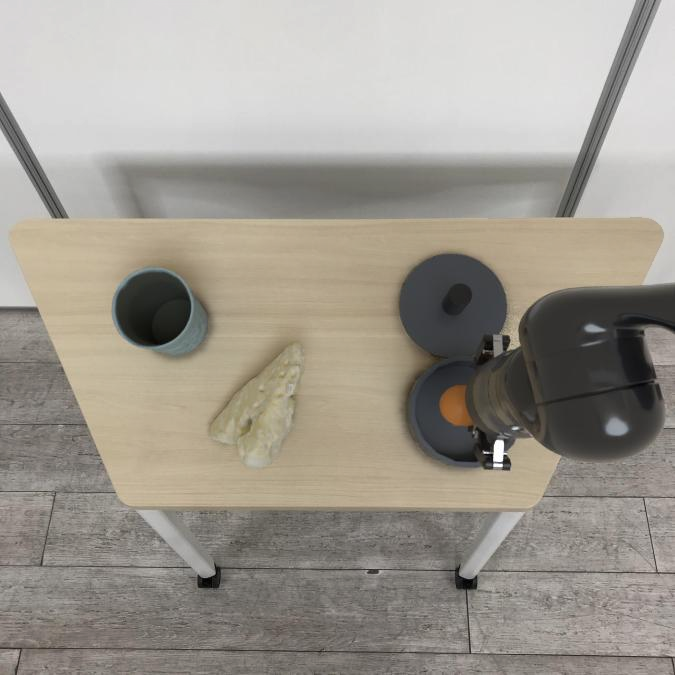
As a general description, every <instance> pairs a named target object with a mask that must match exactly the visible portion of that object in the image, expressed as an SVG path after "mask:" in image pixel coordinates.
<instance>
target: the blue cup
mask: <svg viewBox="0 0 675 675" xmlns="http://www.w3.org/2000/svg"><path fill="white" fill-rule="evenodd" d="M110 312H111V318H112V319H111V320H112V321H113V324H114V327H115V329H116V331H117V333H118V334H119V335H120V336H121V337H122V339H124V340H125V341H126V342H127V343H128V344H131V345H132V346H134V347H137V348H139V349H144V350H150V351H155V352H158V353H164V354H167V355H172V356H180V355H185V354H188V353H190V352H191V351H194V350H196V348H198V347H199V346H200V345H201V343H202V342H203V341H204V339H205V338H206V335H207V333H208V329H209V328H208V327H209V320H208V316H207V313H206V310H205V308H204V307H203V306H202V304H201V303H200V301H199V300H198V298H197V297H196V296H195V295H194V293H193V291H192V289H191V288H190V286H189V284H188V283H187V282H186V281H185V280H184V279H183V278H182V277H181V276H180V275H179V274H178V273H176V272H175V271H173V270H170V269H168V268H165V267H160V266H148V267H144V268H141V269H137V270H135V271H134V272H132V273H131V274H129V275H128V276H126V277H125V278H124V279H123V280H122V281H121V282H120V284H119V285H118V286H117V288H116V290H115V292H114V295H113V297H112V301H111V310H110Z"/></svg>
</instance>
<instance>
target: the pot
mask: <svg viewBox="0 0 675 675" xmlns="http://www.w3.org/2000/svg"><path fill="white" fill-rule="evenodd" d="M474 357H475V355H473V356H464V355H455V356H452V357H449V358H443V359H441V360H438V361H436V362H434V363H433V364H432V365H431V366H430V367H429V368H428V369H427V370H425V371H424V373H422V374H421V375H420V376H419V377H418V378H417V379H416V380H415V381H414V384H413V385H412V388H411V390H410V392H409V394H408V396H407V399H406V409H405V411H406V412H405V413H406V414H405V415H406V416H405V417H406V424H407V427H408V429H409V432H410V434H411V438H412V439H413V442H414V443H415V444H416V445H417V446H418V447H419V448H420V449H421V450H422V452H424V453H425V454H426V455H427V456H428V457H429V458H431V459H433V460H436V462H438V463H439V462H440V463H442V464H444V465H446V466H449V467H450V466H451V467H454V468H472V469H476V468H481V467H482V465H481V464H480V462H479V461H478V459H477V458H476V456H475V454H474V451H473V447H474V444H475V443H478V439H476V438H472V432H468V426H452V423H450V422H448V421H447V420H446V419H445V418H444V417H443V416H442V414H441V411H440V406H439V404H440V399H441V396H442V395H443V393H444V392H445V391H446V390H447V389H449V388H451V387H454V386H456V385H466V386H467V383H468V381H469V379H470V377H471V375H472V374H473V373H474V371H476V370H477V369H478V365H475V364H474ZM516 440H517V439H511V440H510V442H509V443H508V444H506V445H504V450H503V451H507V452H508V451H509V450H510V449H511V448H512V447H513V446H514V445H515V443H516Z"/></svg>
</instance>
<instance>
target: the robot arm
mask: <svg viewBox="0 0 675 675" xmlns="http://www.w3.org/2000/svg"><path fill="white" fill-rule="evenodd" d="M652 328H657V329H664V330H666V331H668V332H670V333H672V334H673V335H675V281H674V282H666V283H654V284H636V285H601V286H600V285H597V286H596V285H595V286H594V285H593V286H591V285H590V286H576V287H567V288H562V289H558V290H554V291H552V292H549V293H547V294H545V295H543V296H542V297H539V298H538V299H537V300H536V301H534V302H533V303H532V304H531V305H530V306H529V307H528V308H527V310H526V311H525V312H524V313H523V315H522V316H521V318H520V321H519V323H518V328H517V330H518V341H519V346H517V347H515V348H513V349H510V350H509V347H510V344H511V340H512V339H511V337H510V335H509V334H499V335H496V334H484V336H483V338H482V341H481V343H480V345H479V347H478V349H477V351H476V354H475V355H474V356H475V357H474V364H475V365H478V369H477V370H476V371H474V373H473V374H472V375H471V377H470V379H469V381H468V383H467V386H466V390H465V404H466V409H467V412H468V414H469V416H470V418H471V420H472V421H473V425H471V426H468V432H472V438H476V439H478V443H475V444H474V447H473V451H474V454H475V456H476V458H477V459H478V461H479V462H480V464H481V465H482V466H481V467H482V469H483V470H484V471H505V472H508V471H509V472H510V471H511V467H512V462H511V459H510V457H509V455H508V453H509V452H508V451H503V450H504V445H506V444H508V443H509V442H510V440H511V439H516V440H518V439H534V440H535V441H536V442H537V443H538V444H540V445H541V446H542V447H544V448H545V449H547V450H549V451H550V452H552V453H554V454H556V455H559V456H560V457H564V458H567V459H571V460H574V461H578V462H587V463H594V464H595V463H597V464H602V463H603V464H605V463H614V462H619V461H625V460H628V459H631V458H633V457H636V456H639V455H641V454H642V453H644V452H645V451H647V450H648V449H649V448H650V447H651V446H653V445H654V444H655V443H656V442H657V441H658V439H659V437H660V436H661V435H662V432H663V430H664V428H665V424H666V421H667V411H666V410H667V408H666V403H665V399H664V396H663V393H662V389H661V385H660V383H659V381H658V380H659V379H658V374H657V370H656V368H655V364H654V362H653V358H652V354H651V351H650V348H649V344H648V341H647V337H646V330H647V329H652Z"/></svg>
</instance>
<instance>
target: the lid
mask: <svg viewBox="0 0 675 675" xmlns="http://www.w3.org/2000/svg"><path fill="white" fill-rule="evenodd" d="M398 308H399V309H398V310H399V316H400V320H401V324H402V326H403V328H404V330H405V332H406V333H407V335H408V336H409V338H410V339H411V340H412V341H413V343H415V344H416V345H417V346H418V347H420V348H421V349H422V350H423V351H426V352H427V353H429V354H431V355H433V356H436V357H438V358H439V357H440V358H443V359H446V358H449V357H452V356H455V355H464V356H475V354H476V351H477V349H478V347H479V345H480V343H481V341H482V338H483V336H484V334H496V335H501V333H502V330H503V328H504V326H505V324H506V323H505V322H506V319H507V314H508V302H507V296H506V291H505V289H504V286H503V284H502V283H501V281H500V279H499V278H498V276H497V275H496V273H495V272H494V271H493V270H492V269H491V268H490V267H489V266H488V265H486V264H485V263H484V262H482V261H481V260H478V259H476V258H474V257H472V256H468V255H466V254H465V255H464V254H460V253H443V254H439V255H435V256H432V257H430V258H427V259H425V260H424V261H422V262H420V263H419V264H418V265H416V266H415V267H414V268H413V269H412V270H411V272H410V273H409V274H408V275H407V277H406V279H405V281H404V282H403V284H402V287H401V290H400V294H399V301H398Z"/></svg>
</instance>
